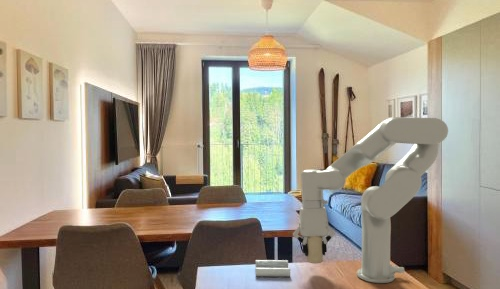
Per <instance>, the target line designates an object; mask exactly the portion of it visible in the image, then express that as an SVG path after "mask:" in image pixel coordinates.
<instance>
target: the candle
mask: <svg viewBox="0 0 500 289" xmlns="http://www.w3.org/2000/svg"><path fill="white" fill-rule="evenodd" d="M322 241H323V240H322V237H321V236H312V237H308V238H307V241H306V244H307V249H308V256H306V259H307V261H306V262H308V263H309V264H314V265H315V264H316V265H317V264H321V263H323V262H324V257H323V256H324V255H323V251H322Z"/></svg>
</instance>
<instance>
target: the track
mask: <svg viewBox="0 0 500 289" xmlns="http://www.w3.org/2000/svg"><path fill="white" fill-rule="evenodd" d="M255 278H257V279H260V278H264V279H266V278H269V279H270V278H271V279H274V278H275V279H277V278H278V279H281V278H282V279H283V278H285V279H287V278H288V279H291V268H290V267H289V260H287V259H285V260H284V259H282V260H279V259H277V260H276V259H275V260H274V259H255Z"/></svg>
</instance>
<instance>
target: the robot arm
mask: <svg viewBox="0 0 500 289" xmlns="http://www.w3.org/2000/svg"><path fill="white" fill-rule="evenodd" d="M448 134H449V127H448V125H447V123H446V122H445V121H443V120H442V119H440V118H437V117H400V116H397V117H396V116H395V117H389V118H386V119H385V120H382V121H381V122H380V123H379V124H378V125H377V126H376V127H374V128H373V129H372V130H371V131H370V132H369V133H367V134H366V135H365V136H364V137H362V138H361V139H360V140H359V141H358V142H356V143H355V144H354V145H352V147H351V148H350V149H349V150H347V151H346V152H345V153H343V154H342V155H341V156H340V157H339V158H337V159H336V160H335V161H333V163H331V164H330V165H329V166H328V167H327V168H326V169H324V170H320V169H314V168H313V169H311V168H309V169H305V170H302V171H301V174H300V178H301V179H300V180H301V181H300V182H301V207H299V213H298V214H299V216H298V227H297V228H296V229H295V230H294V231H293V232H292V236H293V237H294V238H295V239H297V240H298V241H299V242H300V243H301V244H302V253H303V254H304V255H305V257H307V256H308V249H307V238H308V237H312V236H321V237H322V251H323V256H326V253H327V252H328V250H327V244H328V242H330V240H332V238H333V237H334V236H335V235H336V231H334V229H332V227H330V226H329V219H328V213H327V209H326V207H325V206H326V205H328V203H329V202H328V200H326V199H324V191H331V192H335V191H340V190H342V189H343V188H344V186H345V184H346V179H347V178H348V177H350V176H351V175H352V174H353V173H355V172H356V171H358V170H359V169H361V168H364V167H366V166H368V165H370V164H372V163H374V162H375V161H376V160H377V159H379V158H380V157H381V156H383V154H385V153H386V152H387V151H388V150H389V149H391V148H392V147H393V146H394V145H395V144H411V145H412V146H411V148H410V150H408V152H407V153H406V154H405V155H404V156H403V157H402V158H401V159H399V161H397V162H396V163H395V164H394V165H393V166H392V167H391V168H390V169H389V170H388V171H386V174H385V177H384V178H385V179H384V182H383V183H382V184H381V185H380V186H378V185H375V186H369V187H368V188H366V189H365V190H364V191H363V193H362V195H361V200H360V206H361V208H360V209H361V268H358V269H357V270H356V276H357V277H358V278H359V279H362V280H363V281H366V282H369V283H376V284H387V283H388V284H389V283H391V282H393V281H395V279H396V275H395V274H396V273H397V274H405V267H403V266H398V265H395V264H394V265H392V264H391V233H392V232H391V231H392V226H391V225H392V223H391V217H393V216H394V215H396V214H397V213H398V212H399V211H400V210H401V209H402V208H403V207H405V205H407V204H408V203H409V202H410V201H411V200H412V199H413V198H414V197H415V196H416V195H417V194H418V193H419V191H420V189H421V187H422V184H423V183H422V176H423V175H424V174H425V173H426V172H427V171H428V169H430V168H431V167H432V165H433V164H434V163H435V161H436V160H437V157H438V154H439V147H440V146H439V144H441V143H442V142H443V141H445V140H446V139H447V137H448ZM299 234H300V235H299ZM301 236H302V237H301Z"/></svg>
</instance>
